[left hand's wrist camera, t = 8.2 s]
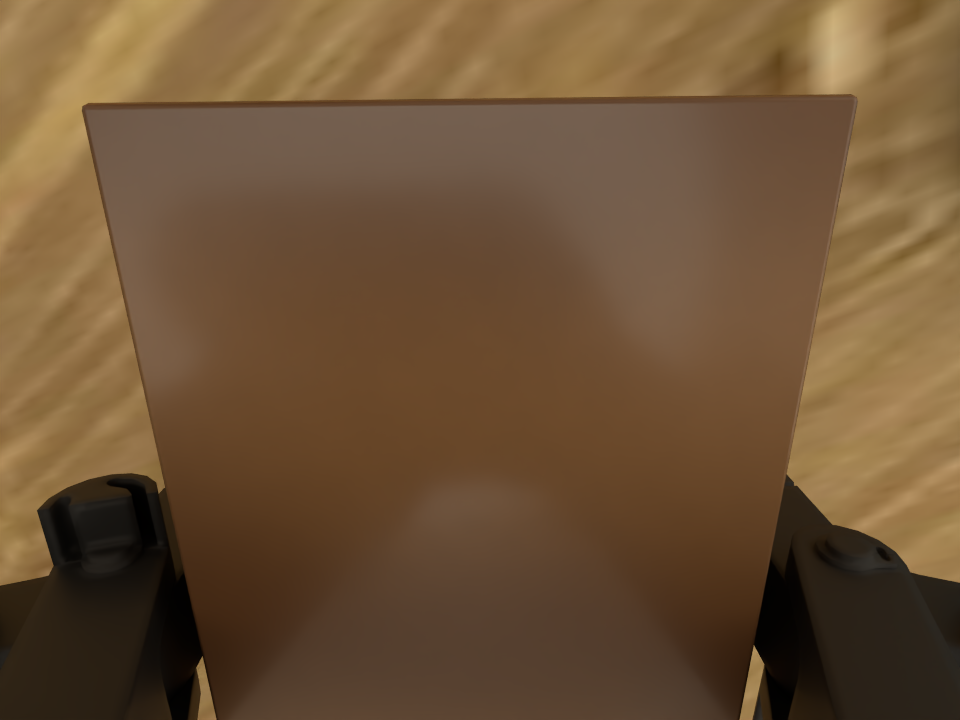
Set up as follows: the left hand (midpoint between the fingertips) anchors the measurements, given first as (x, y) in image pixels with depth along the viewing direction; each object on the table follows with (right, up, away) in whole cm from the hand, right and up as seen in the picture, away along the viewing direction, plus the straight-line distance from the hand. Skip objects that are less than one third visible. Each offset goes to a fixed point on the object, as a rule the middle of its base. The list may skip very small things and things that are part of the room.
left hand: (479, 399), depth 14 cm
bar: (0, -27, +10) cm, 29 cm away
